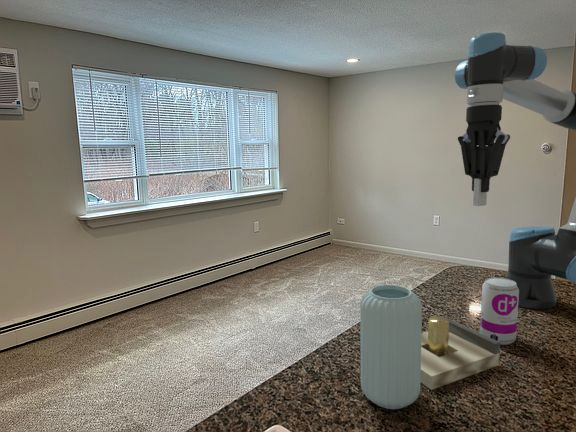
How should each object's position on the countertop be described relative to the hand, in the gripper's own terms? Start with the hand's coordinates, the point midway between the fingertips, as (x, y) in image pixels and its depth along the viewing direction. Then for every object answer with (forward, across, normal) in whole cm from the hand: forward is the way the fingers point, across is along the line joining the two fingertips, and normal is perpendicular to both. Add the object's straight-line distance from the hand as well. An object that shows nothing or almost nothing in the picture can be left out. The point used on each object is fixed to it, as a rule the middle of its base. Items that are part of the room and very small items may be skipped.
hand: (479, 205), depth 102 cm
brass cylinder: (+34, +4, -16) cm, 38 cm away
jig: (+34, +4, -16) cm, 38 cm away
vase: (+35, +10, -35) cm, 50 cm away
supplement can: (+35, +3, +5) cm, 35 cm away
